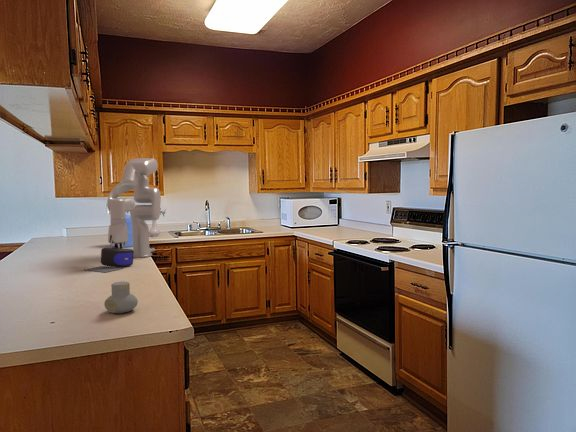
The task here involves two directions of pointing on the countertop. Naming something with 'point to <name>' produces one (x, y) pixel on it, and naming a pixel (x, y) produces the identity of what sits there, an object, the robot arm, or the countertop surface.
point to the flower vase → (155, 227)
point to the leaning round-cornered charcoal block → (117, 257)
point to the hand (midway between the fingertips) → (119, 255)
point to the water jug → (129, 228)
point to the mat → (103, 269)
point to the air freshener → (120, 298)
